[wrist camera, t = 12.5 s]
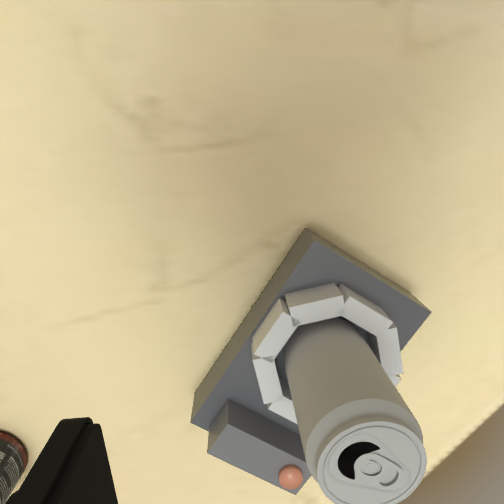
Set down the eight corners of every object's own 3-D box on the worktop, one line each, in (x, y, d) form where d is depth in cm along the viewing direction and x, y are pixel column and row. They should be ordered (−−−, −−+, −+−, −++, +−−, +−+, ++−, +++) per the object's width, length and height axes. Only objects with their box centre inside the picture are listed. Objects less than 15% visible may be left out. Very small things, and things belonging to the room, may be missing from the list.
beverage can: (312, 297, 31) (358, 394, 20) (379, 337, 32) (460, 450, 21) (266, 362, 32) (284, 489, 21) (332, 397, 34) (384, 536, 22)
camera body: (305, 227, 34) (325, 253, 26) (410, 292, 36) (455, 333, 28) (194, 392, 38) (185, 455, 30) (295, 443, 39) (309, 513, 32)
